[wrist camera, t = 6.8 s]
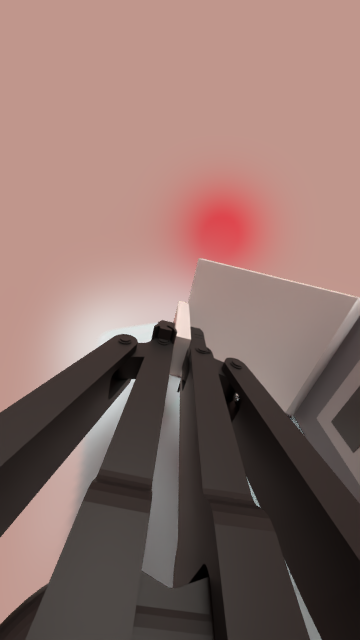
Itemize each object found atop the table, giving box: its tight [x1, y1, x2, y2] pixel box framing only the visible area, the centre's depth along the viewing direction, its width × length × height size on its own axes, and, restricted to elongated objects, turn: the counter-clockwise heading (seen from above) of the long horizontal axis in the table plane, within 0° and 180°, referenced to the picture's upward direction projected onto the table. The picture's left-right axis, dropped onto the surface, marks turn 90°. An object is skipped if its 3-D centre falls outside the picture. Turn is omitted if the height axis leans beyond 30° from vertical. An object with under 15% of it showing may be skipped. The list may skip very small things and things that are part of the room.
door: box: [180, 259, 360, 416], centre depth 17 cm, size 2×13×12 cm, turn 75°
